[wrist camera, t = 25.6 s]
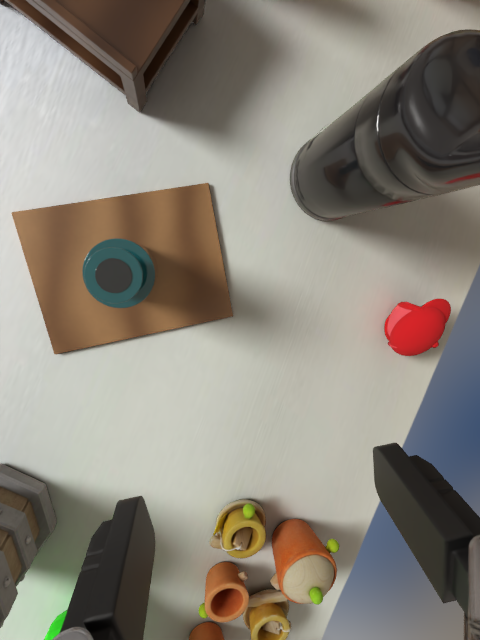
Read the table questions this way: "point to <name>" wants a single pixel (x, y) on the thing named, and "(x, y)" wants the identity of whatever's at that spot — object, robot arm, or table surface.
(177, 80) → the table surface
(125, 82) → the rack
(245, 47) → the table surface
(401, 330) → the red toy helmet
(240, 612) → the toy tea set
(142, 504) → the robot arm
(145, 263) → the vase
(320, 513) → the table surface
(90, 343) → the placemat
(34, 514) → the tankard
